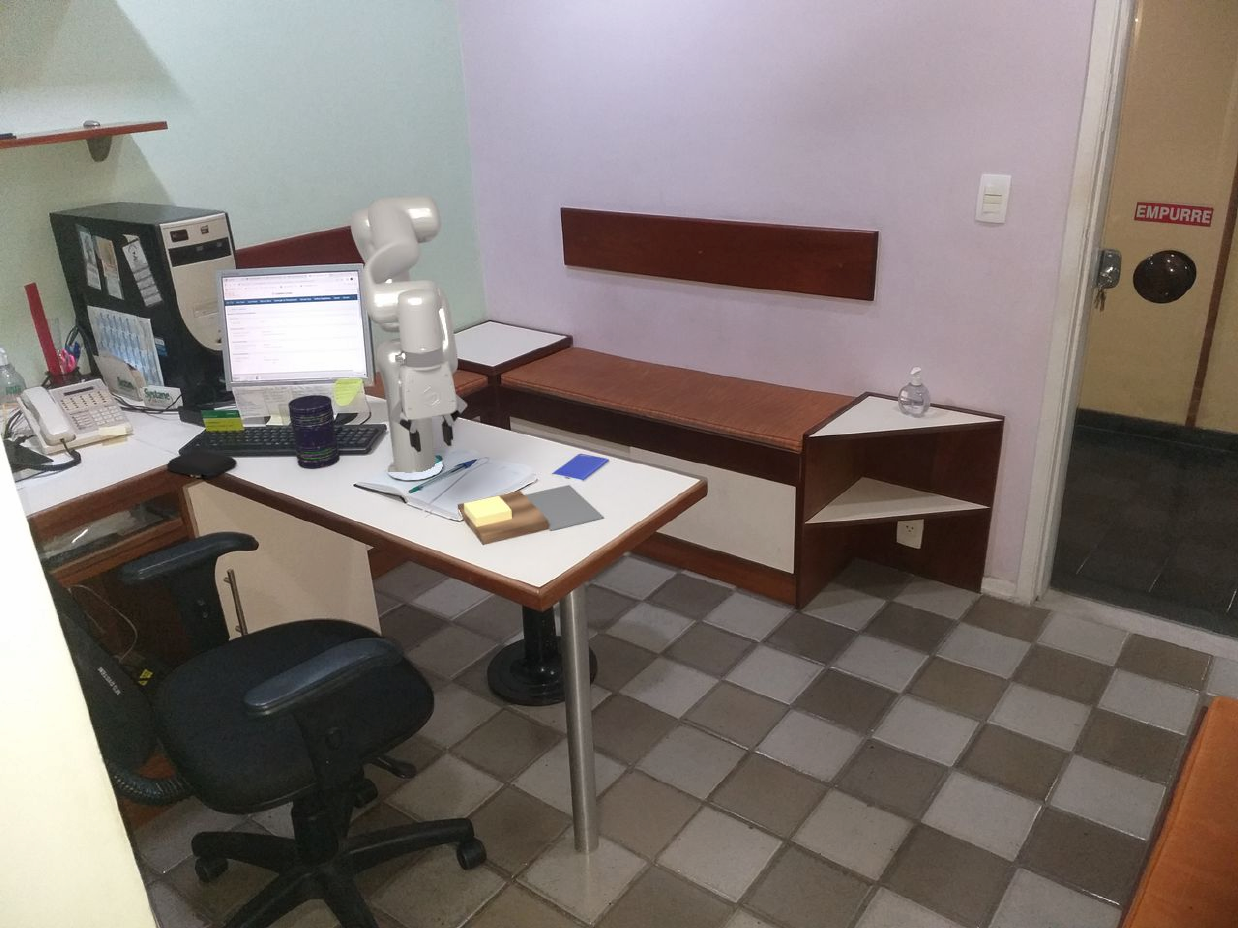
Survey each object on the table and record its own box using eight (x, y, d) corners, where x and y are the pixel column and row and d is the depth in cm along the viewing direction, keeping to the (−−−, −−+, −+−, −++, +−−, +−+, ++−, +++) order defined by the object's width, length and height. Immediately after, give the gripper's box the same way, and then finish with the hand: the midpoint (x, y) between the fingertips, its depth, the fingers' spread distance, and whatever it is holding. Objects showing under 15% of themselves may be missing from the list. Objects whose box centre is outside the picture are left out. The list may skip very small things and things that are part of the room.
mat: (518, 497, 211) (518, 496, 211) (569, 486, 215) (569, 484, 215) (550, 531, 196) (550, 529, 196) (604, 518, 201) (604, 517, 200)
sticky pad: (464, 512, 200) (463, 503, 199) (499, 504, 203) (498, 495, 202) (476, 526, 194) (475, 518, 193) (512, 518, 197) (511, 509, 196)
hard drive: (578, 452, 230) (551, 472, 220) (609, 458, 227) (582, 478, 217) (579, 459, 231) (551, 478, 221) (609, 464, 227) (583, 485, 217)
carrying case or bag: (160, 474, 227) (206, 485, 221) (157, 462, 226) (203, 472, 220) (196, 458, 236) (241, 467, 230) (194, 446, 234) (239, 455, 228)
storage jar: (335, 468, 227) (326, 408, 221) (293, 470, 227) (282, 410, 221) (343, 451, 236) (335, 394, 230) (303, 453, 236) (293, 395, 230)
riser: (458, 512, 204) (457, 504, 203) (520, 499, 210) (519, 490, 209) (483, 544, 191) (482, 535, 190) (548, 529, 197) (548, 520, 196)
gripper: (382, 369, 174) (393, 462, 181) (473, 355, 181) (481, 445, 188) (372, 358, 180) (384, 448, 187) (461, 345, 187) (468, 432, 194)
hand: (432, 445), depth 187 cm, fingers open, 5 cm apart
